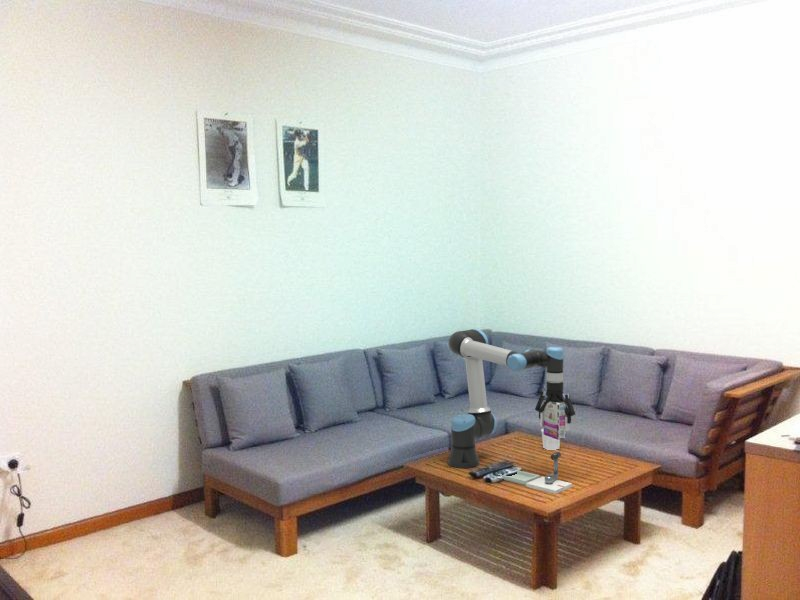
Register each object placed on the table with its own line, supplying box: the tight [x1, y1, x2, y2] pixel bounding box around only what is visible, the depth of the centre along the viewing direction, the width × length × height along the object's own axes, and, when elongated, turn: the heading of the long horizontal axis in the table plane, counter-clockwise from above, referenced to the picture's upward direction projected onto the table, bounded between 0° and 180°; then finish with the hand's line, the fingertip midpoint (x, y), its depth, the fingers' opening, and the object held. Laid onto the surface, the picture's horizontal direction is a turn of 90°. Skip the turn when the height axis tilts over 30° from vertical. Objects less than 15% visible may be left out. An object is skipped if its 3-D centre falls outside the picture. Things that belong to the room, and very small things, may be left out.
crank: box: [544, 451, 562, 484], centre depth 319 cm, size 11×4×11 cm, turn 142°
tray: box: [498, 469, 541, 487], centre depth 328 cm, size 17×11×2 cm, turn 45°
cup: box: [540, 428, 561, 451], centre depth 377 cm, size 10×10×10 cm
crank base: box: [525, 476, 573, 495], centre depth 317 cm, size 15×13×2 cm
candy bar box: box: [543, 399, 567, 441], centre depth 330 cm, size 11×5×16 cm, turn 25°
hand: (554, 428), depth 331 cm, fingers closed on candy bar box, 12 cm apart
